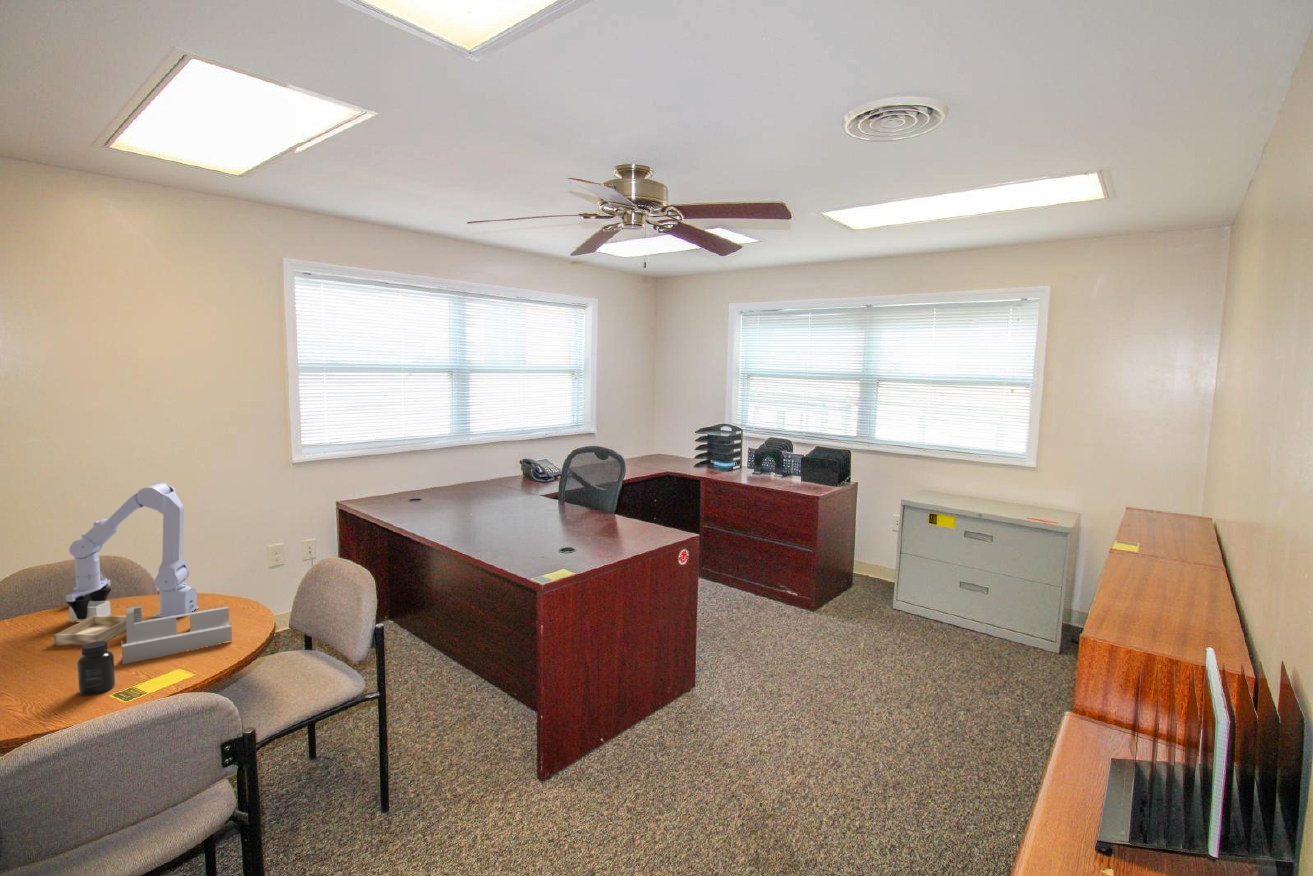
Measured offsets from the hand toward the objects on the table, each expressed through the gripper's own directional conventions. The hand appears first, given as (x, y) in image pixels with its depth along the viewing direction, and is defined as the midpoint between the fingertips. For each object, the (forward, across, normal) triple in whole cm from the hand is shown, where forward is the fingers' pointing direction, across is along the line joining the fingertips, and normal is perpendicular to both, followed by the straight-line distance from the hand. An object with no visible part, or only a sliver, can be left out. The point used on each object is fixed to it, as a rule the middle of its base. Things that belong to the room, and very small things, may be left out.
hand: (90, 614), depth 193 cm
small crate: (+1, 0, 0) cm, 1 cm away
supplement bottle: (+2, +44, +36) cm, 57 cm away
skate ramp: (+2, +14, +36) cm, 39 cm away
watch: (+2, -15, -11) cm, 19 cm away
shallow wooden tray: (+1, +12, +11) cm, 16 cm away
